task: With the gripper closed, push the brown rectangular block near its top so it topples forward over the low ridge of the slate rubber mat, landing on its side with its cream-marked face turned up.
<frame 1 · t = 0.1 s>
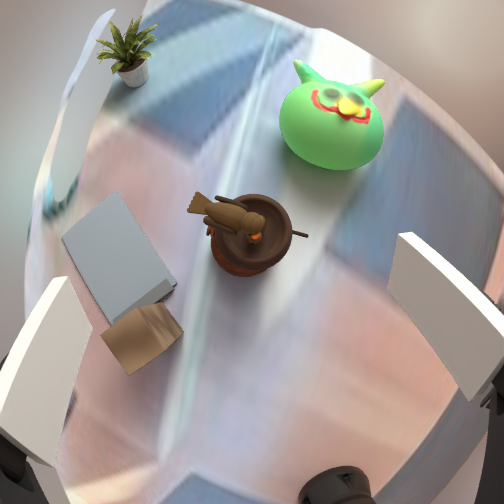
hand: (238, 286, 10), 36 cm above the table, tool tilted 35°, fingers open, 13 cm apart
green rounded lump: (321, 140, 50), on the table
brown rectangular block: (159, 327, 44), on the table
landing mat: (116, 263, 45), on the table
house plant: (138, 83, 49), on the table
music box: (249, 245, 47), on the table
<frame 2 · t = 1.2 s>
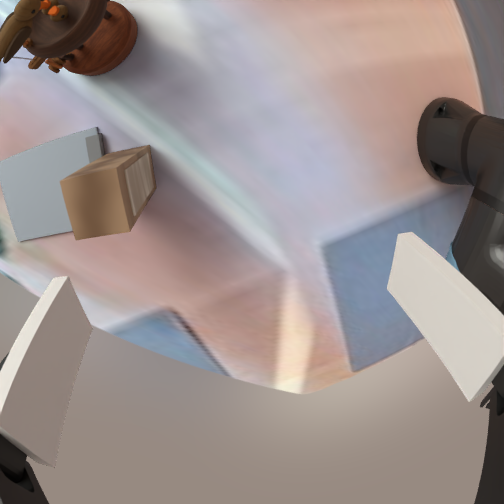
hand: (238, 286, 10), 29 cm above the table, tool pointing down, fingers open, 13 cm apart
brown rectangular block: (131, 170, 35), on the table
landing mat: (54, 188, 34), on the table
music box: (104, 35, 25), on the table
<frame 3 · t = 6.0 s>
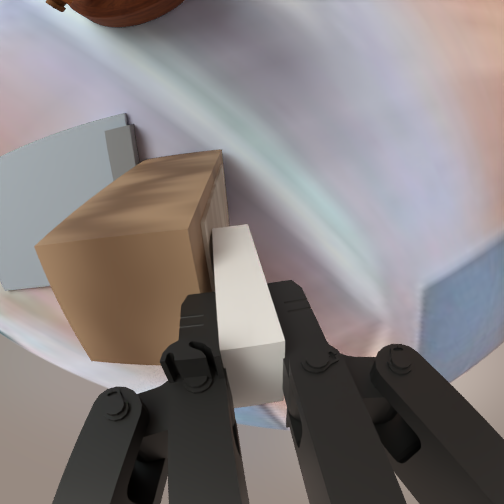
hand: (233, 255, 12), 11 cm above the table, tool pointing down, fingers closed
brown rectangular block: (187, 191, 22), on the table, tilted 6°, touching gripper
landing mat: (51, 215, 21), on the table
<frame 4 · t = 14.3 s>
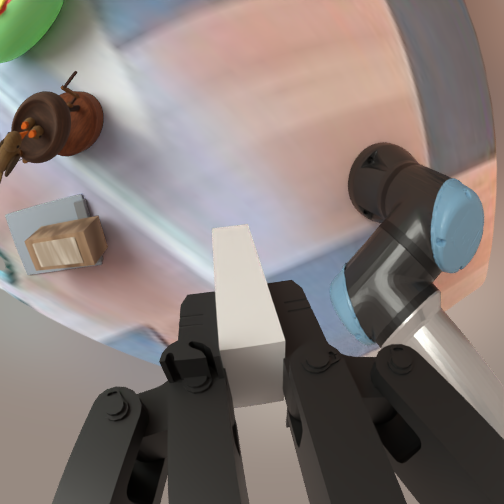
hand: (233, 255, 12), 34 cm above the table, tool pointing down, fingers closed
green rounded lump: (36, 18, 24), on the table
brown rectangular block: (96, 239, 42), point 5 cm above the table, tilted 95°, touching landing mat
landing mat: (53, 237, 45), on the table
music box: (78, 118, 36), on the table
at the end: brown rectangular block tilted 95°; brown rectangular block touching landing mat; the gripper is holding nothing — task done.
